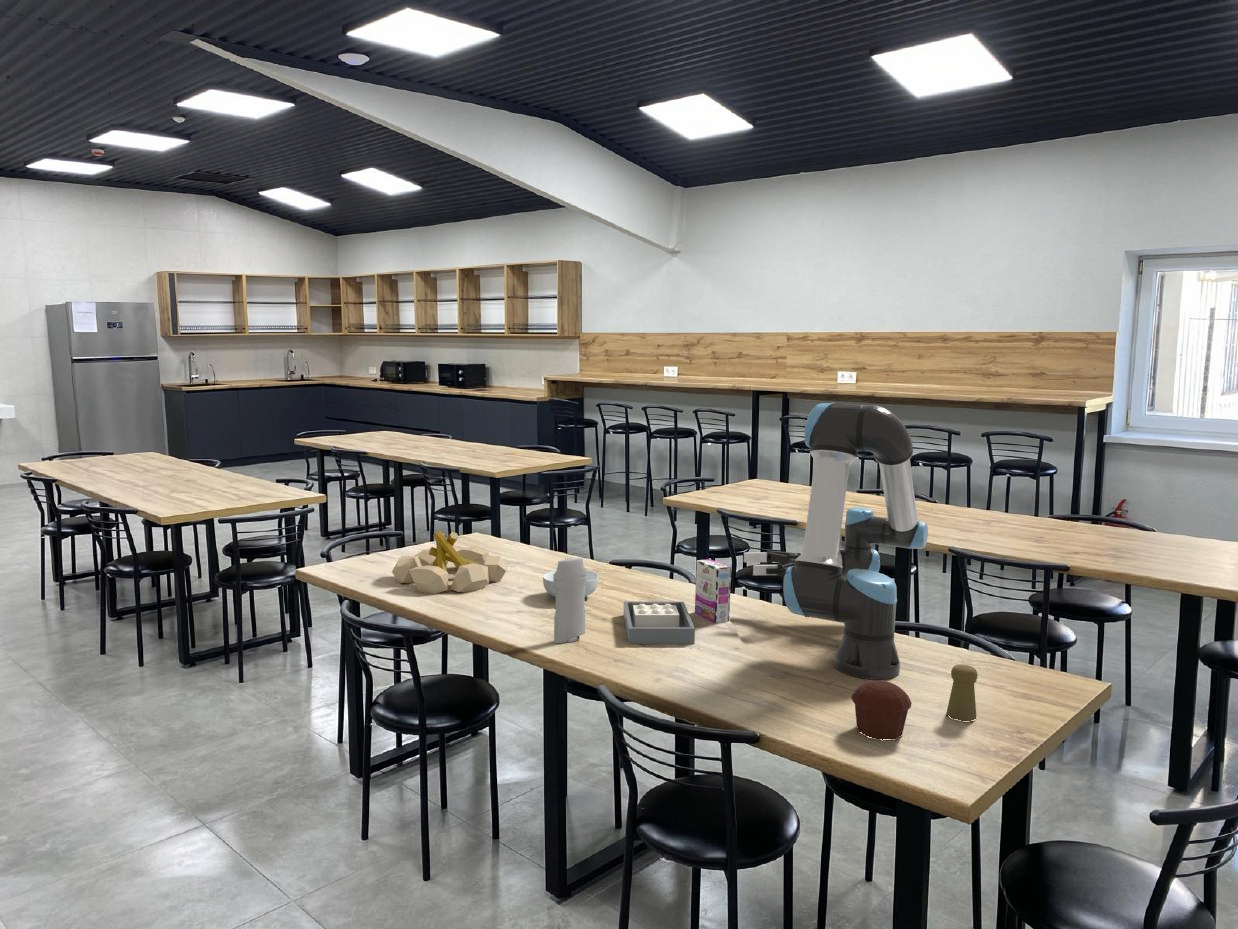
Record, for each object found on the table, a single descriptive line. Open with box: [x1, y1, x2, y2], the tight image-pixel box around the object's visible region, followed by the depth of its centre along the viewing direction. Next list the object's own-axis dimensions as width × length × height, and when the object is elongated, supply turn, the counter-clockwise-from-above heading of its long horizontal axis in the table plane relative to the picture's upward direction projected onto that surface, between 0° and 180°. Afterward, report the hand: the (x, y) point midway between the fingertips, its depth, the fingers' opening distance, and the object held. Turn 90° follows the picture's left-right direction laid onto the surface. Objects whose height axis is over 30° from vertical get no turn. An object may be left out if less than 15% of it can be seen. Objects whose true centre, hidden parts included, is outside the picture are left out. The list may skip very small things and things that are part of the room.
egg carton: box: [633, 604, 679, 627], centre depth 243 cm, size 9×12×5 cm
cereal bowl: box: [542, 569, 600, 598], centre depth 269 cm, size 17×17×7 cm
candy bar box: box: [694, 558, 732, 624], centre depth 249 cm, size 11×5×16 cm, turn 27°
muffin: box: [850, 680, 913, 740], centre depth 178 cm, size 12×11×10 cm
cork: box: [946, 664, 978, 721], centre depth 186 cm, size 6×6×11 cm
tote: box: [622, 600, 696, 645], centre depth 238 cm, size 24×17×5 cm
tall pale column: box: [553, 556, 588, 645], centre depth 230 cm, size 11×4×22 cm, turn 129°
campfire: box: [391, 530, 508, 595], centre depth 287 cm, size 35×34×17 cm
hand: (748, 563), depth 249 cm, fingers open, 13 cm apart
